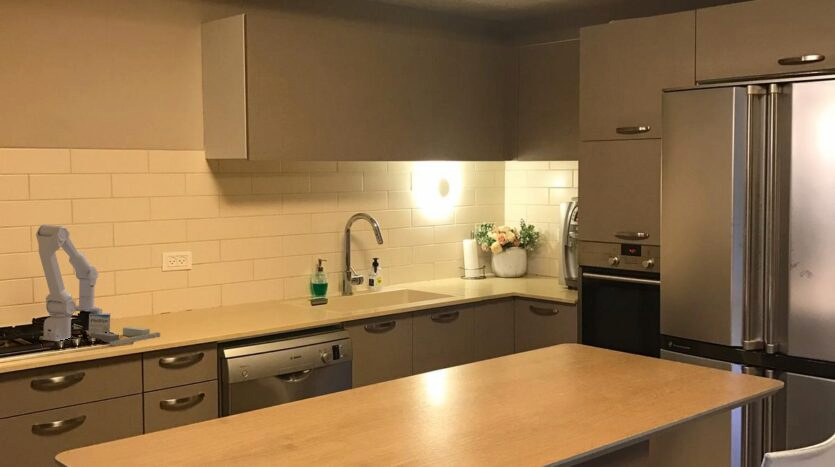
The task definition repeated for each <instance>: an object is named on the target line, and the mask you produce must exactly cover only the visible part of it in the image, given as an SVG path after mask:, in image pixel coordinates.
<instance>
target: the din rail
mask: <svg viewBox="0 0 835 467" xmlns="http://www.w3.org/2000/svg"><path fill="white" fill-rule="evenodd" d="M159 337H161V332H153V333H152V332H150V334H145V335H140V336H135V337H133V336H129V337H126V338H119V340H114V341H110V344H109V346H112V347H114V346H119V345H124V344H128V343H134V342H138V341H145V340H149V339H153V338H159Z"/></svg>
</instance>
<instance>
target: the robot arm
mask: <svg viewBox="0 0 835 467" xmlns="http://www.w3.org/2000/svg"><path fill="white" fill-rule="evenodd" d="M70 233H71V232H70V231H68V228H67V227H66V226H65V225H47V224H41V225H40V226H39V227H38V230H37V231H36V233H35V237H36V240H37V244H38V254H39V258H40V262H41V264H42V265H41V267H42V270H43V272H44V276H45V280H46V283H47V287H48V291H49V294H48V295H47V296H46V297H45V301H46V302H45V304H46V305H45V308H46V312H47V313H48V316H50V317H47V318H46V319H45V320H44V322H43V337H42V338H41V340H42V341H43V340H45V341H51V342H61V341H60V340H63V341H66V340H65V339H68V338H70V337H71V336H72V335H71V334H72V333H71V331H72V326H71V325H72V324H71V323H72V317H73V314H75V313H76V312H77V316H78V319H79V320H80V323H81V326H82V331H83V332H84V330H85V331H86V330H87V331H89V314H90V313H97V314H102V313H103V308H100V307H96V306H95V285H96V284H97V279H98V278H99V272H98V269H97V268H96V267H95V266H92V265H91V263H90V262H89V260H88V259H87V258H86V256H85V254H84V253H83V252H80V251H78V250H77V248H76V247H75V245H74V243H73V241H72V240H71V237H70ZM60 248H62V250H63V252H65V254H67V256H68V257H69V259H68V262H69V263H70V264H71V266H72V268H74V271H75V276H76V279H77V280H79V281H78V282H79V283H78V284H79V285H78V286H79V287H78V305H77V304H76V302H75V300H74V299H73V297H72V295H71V293H70V292H68V291H67V290H66V287H65V284H64V280H63V277H62V273H61V269H60V265H59V262H58V257H57V255H56V252H57V251H59V250H60ZM68 340H69V339H68Z"/></svg>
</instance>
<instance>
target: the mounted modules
mask: <svg viewBox="0 0 835 467" xmlns="http://www.w3.org/2000/svg"><path fill="white" fill-rule="evenodd" d="M150 329H151V328H147V327H138V326H132V325H131V326H125V327H122V336H127V337H135V336H140V335H145V334H151V332H150V331H151V330H150ZM91 337H92V338H98V339H101V340H102V341H104V342H107V343H106V344H109V345H110V341H114V340H119V339H120V334H118V333H117V334H116V333H111V332H110V333H104V332H95V333H91V336H90V338H91Z"/></svg>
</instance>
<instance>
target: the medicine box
mask: <svg viewBox="0 0 835 467" xmlns="http://www.w3.org/2000/svg"><path fill="white" fill-rule="evenodd" d="M89 332H104V333H105V332H107V333H111V313H109V312H105V313H103V312H102V314H97V313H90V314H89V330H88V333H89Z"/></svg>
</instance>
